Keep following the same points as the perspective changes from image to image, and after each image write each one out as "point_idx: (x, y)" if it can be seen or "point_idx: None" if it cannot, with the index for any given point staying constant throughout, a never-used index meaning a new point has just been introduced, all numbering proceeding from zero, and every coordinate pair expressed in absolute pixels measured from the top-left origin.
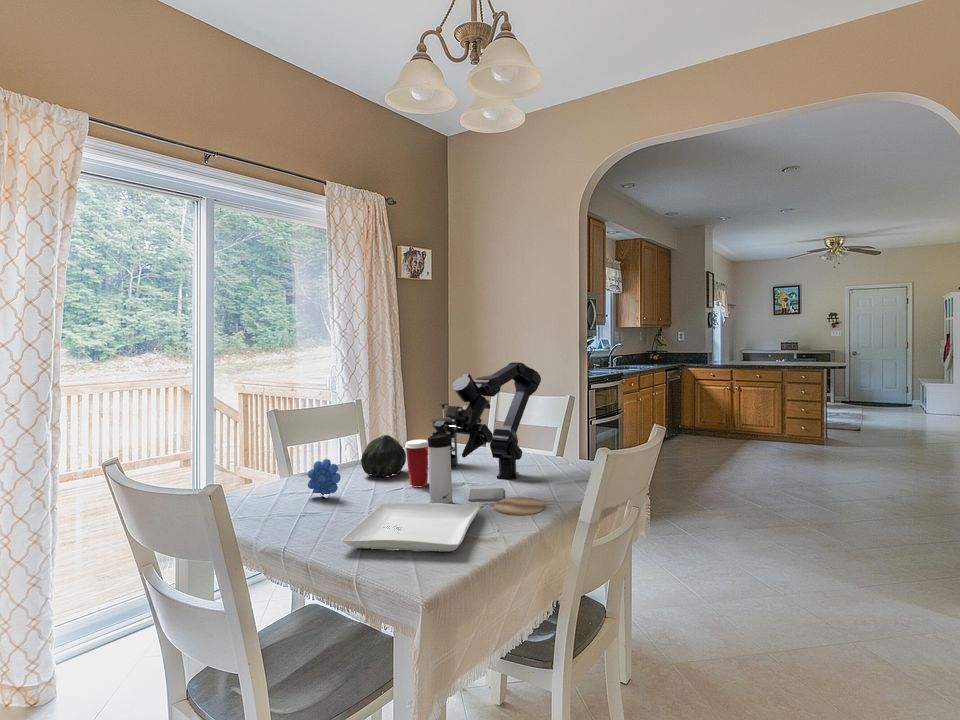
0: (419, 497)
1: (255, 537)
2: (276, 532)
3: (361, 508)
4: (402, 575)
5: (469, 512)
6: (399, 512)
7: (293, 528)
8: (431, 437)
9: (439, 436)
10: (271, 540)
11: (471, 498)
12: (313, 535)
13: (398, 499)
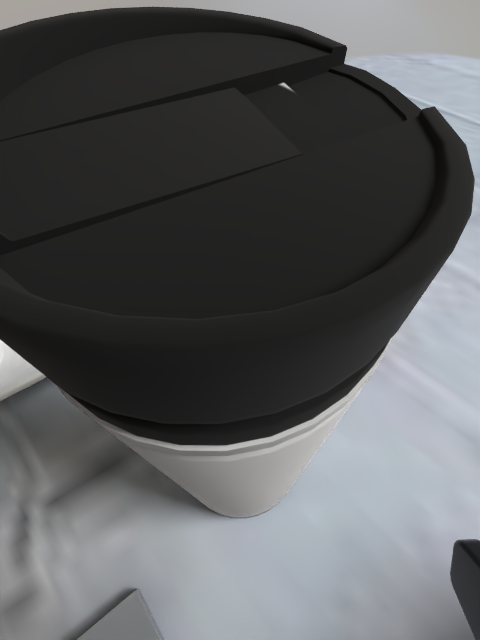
0: (423, 475)
1: (425, 60)
2: (424, 82)
3: (459, 248)
4: None
5: (7, 380)
6: None
7: (423, 103)
8: (398, 136)
9: (232, 176)
10: (382, 66)
11: (125, 615)
12: None
13: (469, 391)
